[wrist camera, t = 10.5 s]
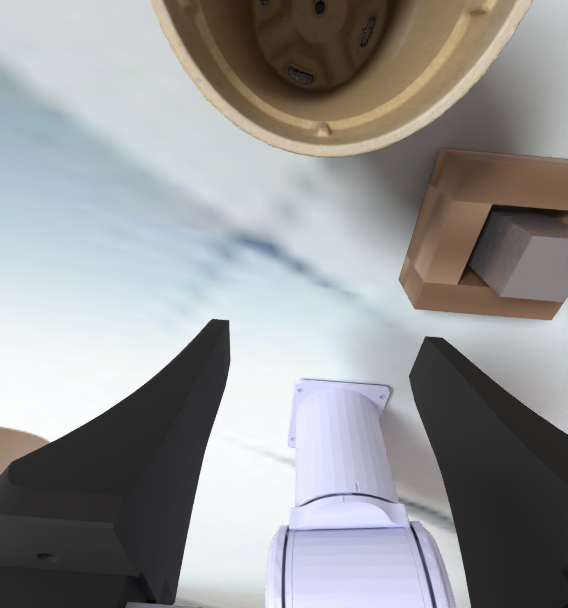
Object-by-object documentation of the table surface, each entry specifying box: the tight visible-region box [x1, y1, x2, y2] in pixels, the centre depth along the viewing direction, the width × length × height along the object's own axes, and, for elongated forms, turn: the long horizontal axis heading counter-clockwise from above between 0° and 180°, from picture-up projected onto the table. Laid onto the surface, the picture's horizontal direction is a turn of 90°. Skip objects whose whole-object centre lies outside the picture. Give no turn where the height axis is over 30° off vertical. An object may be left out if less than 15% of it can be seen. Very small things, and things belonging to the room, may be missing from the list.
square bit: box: [467, 204, 568, 302], centre depth 16 cm, size 3×3×6 cm
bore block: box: [399, 148, 568, 320], centre depth 17 cm, size 8×8×4 cm
